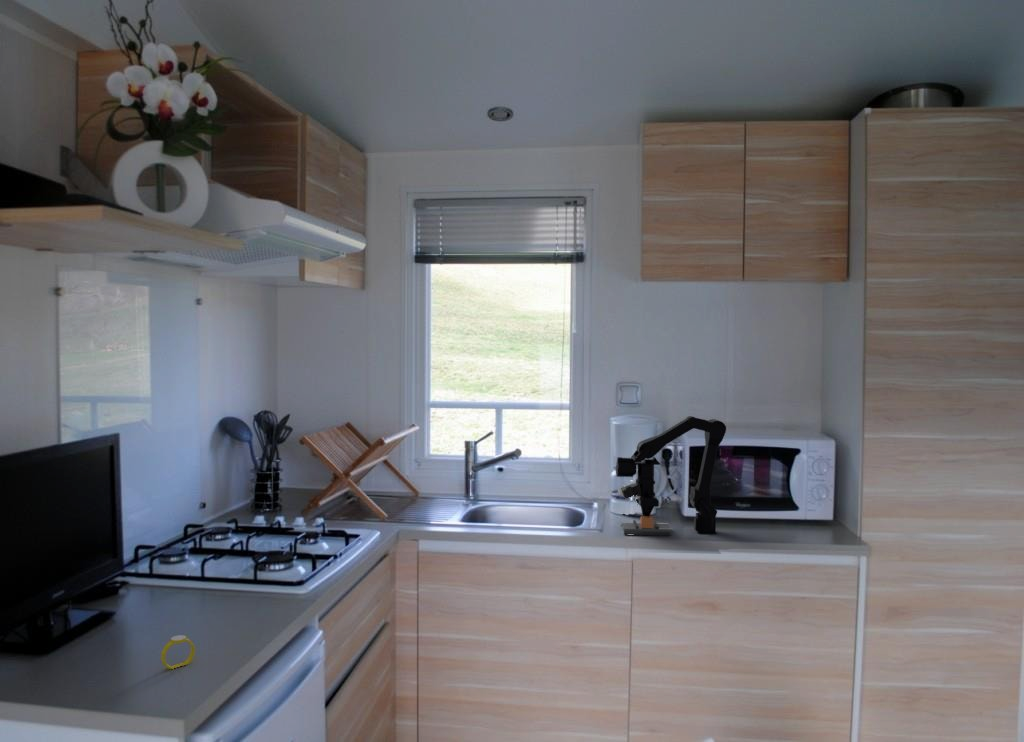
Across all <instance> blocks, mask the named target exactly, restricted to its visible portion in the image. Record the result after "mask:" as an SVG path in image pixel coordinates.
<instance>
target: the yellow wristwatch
mask: <svg viewBox="0 0 1024 742" xmlns="http://www.w3.org/2000/svg"><path fill="white" fill-rule="evenodd" d="M185 642H186V643H188V644H190V652H189V656H188V657H187V658H186V660H185V661H183V662H180V663H177V664H174V665H170V664H168V663H167V662H166V654H167V653H168V651H169V649H170V648H171V647H172V646H173V645H176V644H182V643H185ZM195 649H196V648H195V644H194V643H193V642H192V640H190V639H189V638H187V636H186V635H183V634H180V635H174V636H172V637H171V638H170V641H168V642H167V643H166V644H165V645H164V647H163V649H162V651H161V654H160V656H161V657H160V658H161V659H160V660H161V662H162V665H163V666H165V668H166V669H169V670H171V669H173V670H175V669H174V668H176V667H180V666H182V665H186V664H188V665H189V664H190V663H191V662H192V661H193V659H194V656H195V653H196V650H195ZM180 668H181V667H180ZM176 669H177V668H176Z"/></svg>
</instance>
